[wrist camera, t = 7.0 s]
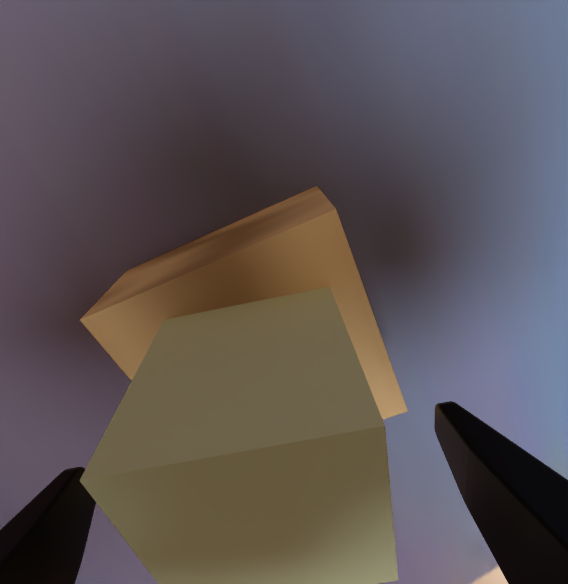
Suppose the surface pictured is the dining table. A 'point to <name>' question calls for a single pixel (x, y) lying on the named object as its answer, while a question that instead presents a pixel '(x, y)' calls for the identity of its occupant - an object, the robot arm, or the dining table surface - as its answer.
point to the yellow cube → (251, 451)
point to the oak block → (248, 285)
